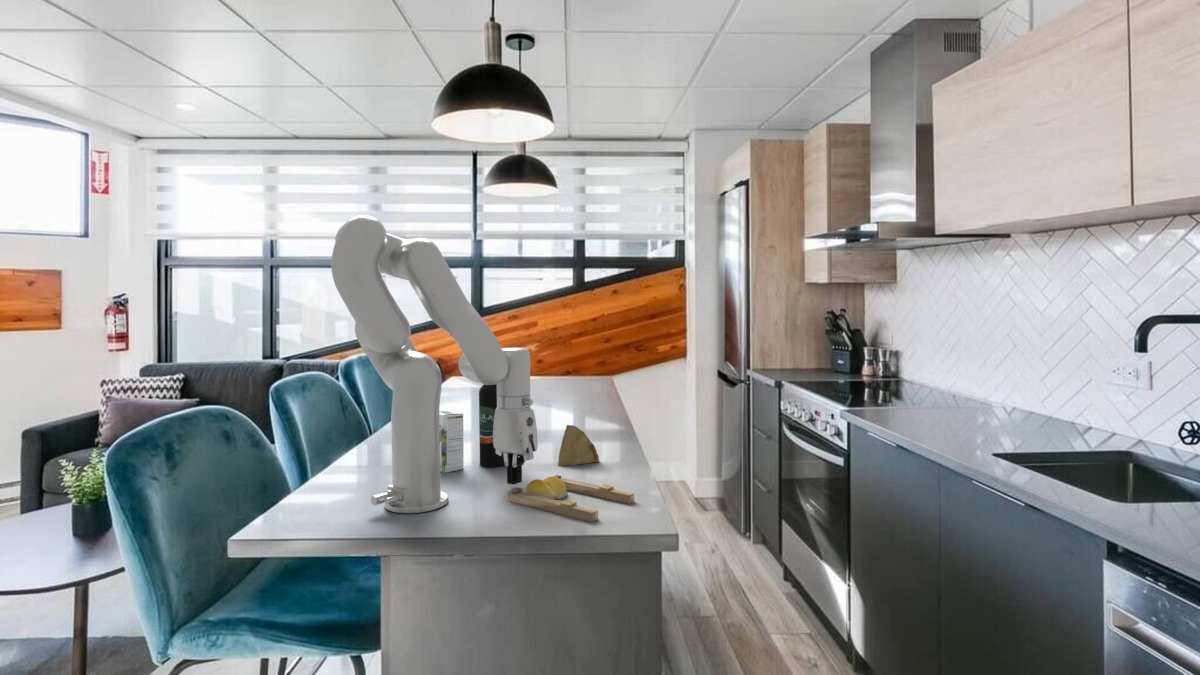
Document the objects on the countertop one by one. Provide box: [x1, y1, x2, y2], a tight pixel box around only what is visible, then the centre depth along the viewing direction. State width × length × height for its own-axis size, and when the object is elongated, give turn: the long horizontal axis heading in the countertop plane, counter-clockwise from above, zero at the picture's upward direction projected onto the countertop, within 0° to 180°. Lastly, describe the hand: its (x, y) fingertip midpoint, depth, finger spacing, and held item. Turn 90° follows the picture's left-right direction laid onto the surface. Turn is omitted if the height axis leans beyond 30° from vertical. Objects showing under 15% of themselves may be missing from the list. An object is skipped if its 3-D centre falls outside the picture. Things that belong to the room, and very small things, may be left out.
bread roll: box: [524, 476, 569, 500], centre depth 131 cm, size 8×9×4 cm
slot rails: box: [507, 474, 635, 523], centre depth 127 cm, size 15×22×2 cm
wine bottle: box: [478, 384, 507, 469], centre depth 156 cm, size 8×8×30 cm
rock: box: [557, 424, 600, 467], centre depth 158 cm, size 11×9×10 cm
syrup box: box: [439, 410, 465, 474], centre depth 152 cm, size 6×6×14 cm
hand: (514, 482), depth 136 cm, fingers closed
